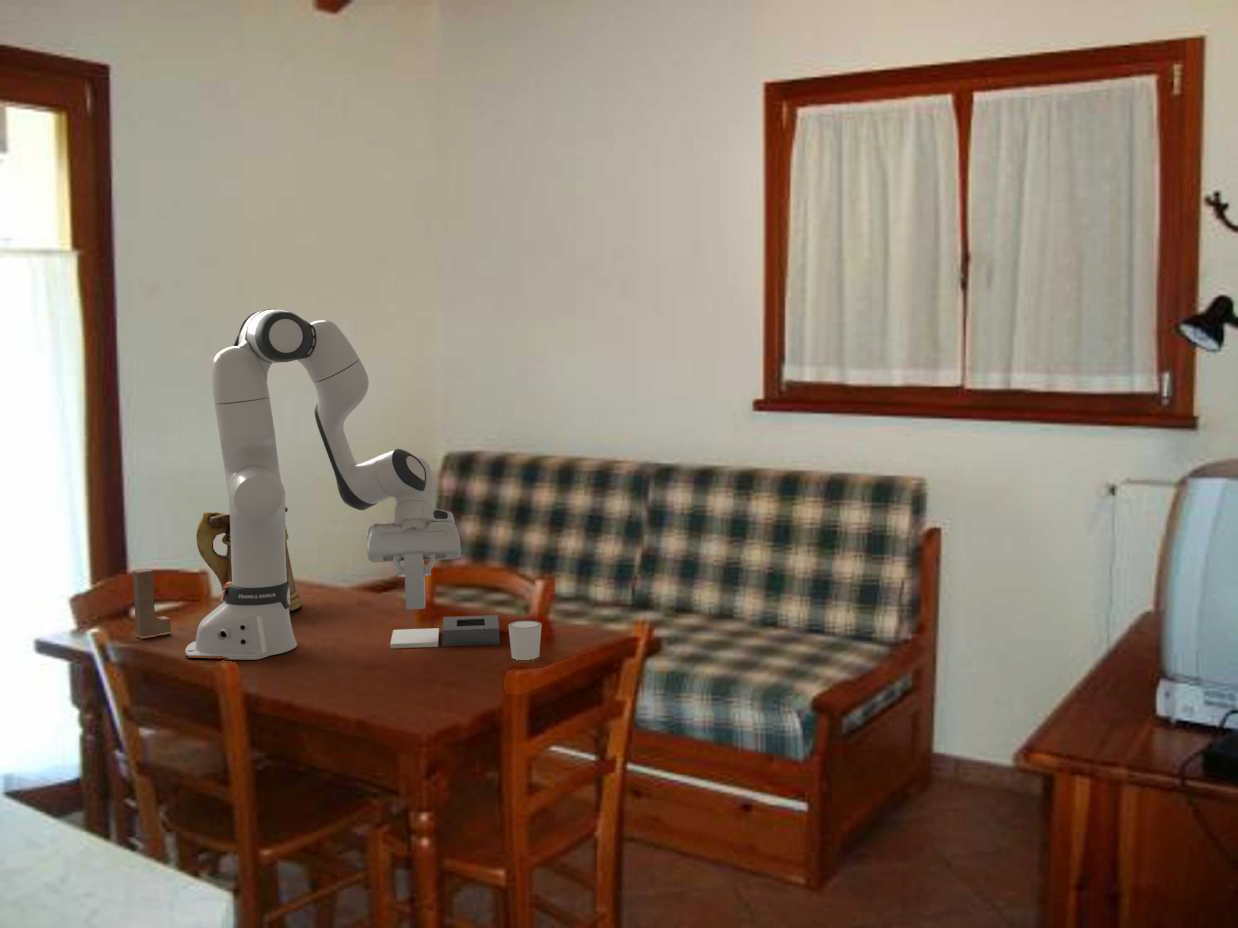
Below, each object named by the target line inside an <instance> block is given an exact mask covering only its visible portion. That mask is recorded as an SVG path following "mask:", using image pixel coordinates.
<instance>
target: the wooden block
mask: <svg viewBox="0 0 1238 928" xmlns="http://www.w3.org/2000/svg"><path fill="white" fill-rule="evenodd" d="M153 572H154V571H153V570H152V569H150V568H147V567H146V568H141V569H140V568H139V569H134V570H132V580H133V581H132V583H133V597H134V600H133V601H134V619H135V634H136V633H137V634H138V635H139V636H149V635H156V634H160V633H165V632H172V631H171V619H170V617H167V616H165V615H163V616H157V615H156V613H155V612H156V611H155V609H156V607H155V594H154V593H155V591H154V573H153Z"/></svg>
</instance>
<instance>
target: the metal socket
mask: <svg viewBox="0 0 1238 928" xmlns="http://www.w3.org/2000/svg"><path fill="white" fill-rule="evenodd" d="M442 618H443V619H442V647H462V646H463V647H464V646H489V645H491V646H492V645H493V646H494V645H500V644H501V643H500V624H499V616H498V614H494V615H493V614H491V615H490V614H489V615H465V616H464V615H463V616H443V617H442Z"/></svg>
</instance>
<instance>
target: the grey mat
mask: <svg viewBox="0 0 1238 928" xmlns="http://www.w3.org/2000/svg"><path fill="white" fill-rule="evenodd" d="M391 634H392V635H391V640H390V643H389V644H390V649H407V648H410V649H411V648H413V649H414V648H438V647H439V637H440V628H439V627H438V628H434V627H433V628H407V629H406V628H404V629H393V630H392V633H391Z"/></svg>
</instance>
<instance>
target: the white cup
mask: <svg viewBox="0 0 1238 928" xmlns="http://www.w3.org/2000/svg"><path fill="white" fill-rule="evenodd" d="M507 627H508V634H509V643H510V652H511V659H512V658H513V659H516V660H515V661H517V660H530V659H535V658H537V657H539V658H540V650H541V649H540V648H541V636H542V623H541V622H540V621H535V620H520V621H519V620H517V621H512V622H511V623H508V626H507Z"/></svg>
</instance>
